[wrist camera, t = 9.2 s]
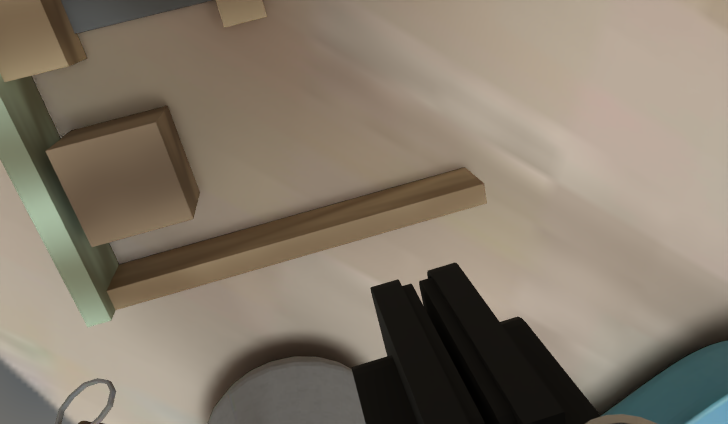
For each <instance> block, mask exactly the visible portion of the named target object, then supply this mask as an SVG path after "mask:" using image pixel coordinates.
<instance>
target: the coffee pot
mask: <svg viewBox="0 0 728 424" xmlns="http://www.w3.org/2000/svg"><path fill="white" fill-rule="evenodd" d="M97 383H105V384H107V385H108V387H109V389H110V394H109V399H108V403H107V406H106V407H105V408H104V410H103V411H102V412H101V414H100V415H99V416H98V418H96V419H95V420H94V421H93V422H88V421H81V422H79V423H78V424H103V423H100V422H101V421H102V420H103V419H104V418H105V416H106V415H107V414H108V412H109V411H110V409H111V408H112V407H113V403H114V398H115V394H116V390H115V388H114V386H113V384H112V382H111V381H109V380H104V379H98V378H97V379H94V380H91V381H88V382H85V383H83V384H81V385H80V386H79V387H78V388H77V389H76V390H75V391H73V392H72V393H71V394H70V395H69V396H68V398H67V399H66V400H65V402H64V403H63V404H62V406H61V407H60V409H59V411H58V415H57V418H56V422H55V424H61V422H62V419H63V415H64V411H65V410H66V408H67V407H68V406H69V404H70V403H71V402H72V400H73V399H74V398H75V397H76V396H77V395H78V394H79V393H80V392H82V391H83V390H84V389H85V388H86V387H88V386H91V385H94V384H97ZM208 424H366V423H365V419H364V415H363V412H362V408H361V404H360V400H359V396H358V392H357V388H356V384H355V381H354V377H353V373H352V369H350V368H349V367H347V366H345V365H343V364H341V363H339V362H337V361H333V360H329V359H325V358H321V357H303V356H294V357H289V358H284V359H280V360H275V361H271V362H269V363H267V364H264V365H262V366H260V367H258V368H255V369H253V370H251V371H249V372H248V373H247V374H246V375H244V376H243V377H242V378H240V379H239V380H238V381H236V382H235V383H234V384H233V385H232V386H231V387H230V388H229V389H228V391H227V392H226V393H225V394H224V396H223V397H222V398H221V399H220V401H219V402H218V403H217V404H216V406H215V407H214V409H213V411H212V414H211V416H210V419H209V421H208Z"/></svg>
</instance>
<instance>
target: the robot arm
mask: <svg viewBox="0 0 728 424" xmlns="http://www.w3.org/2000/svg"><path fill="white" fill-rule="evenodd" d="M427 275H428V279H425V280H422V281H420V282H419V285H420V291H421V296H422V300H423V304H422V302H421V300H420V299H419V297H418V295H417V293H416V291H415V289H414V287H413V285H412V284H408V285H405V286H402V285H401V283H400V281H399V280H394V281H391V282H388V283H384V284H381V285H377V286H374V287H371V293H372V297H373V301H374V305H375V309H376V313H377V317H378V321H379V325H380V329H381V333H382V337H383V341H384V345H385V348H386V352H387V357H384V358H381V359H378V360H374V361H371V362H368V363H364V364H361V365H358V366H355V367H351V368H352V373H353V377H354V381H355V384H356V388H357V392H358V396H359V400H360V404H361V408H362V412H363V415H364V419H365V423H366V424H657V423H655V422H652V421H649V420H647V419H644V418H642V417H637V416H631V415H625V414H616V415H604V416H600V414H599V413H598V412H597V411H596V409H595V408H594V407H593V406H592V404H591V403H590V402H589V401H588V399H587V398H586V397H585V396H584V394H583V393H582V392H581V391H580V389H579V388H578V387H577V386H576V384H575V383H574V382H573V381H572V379H571V378H570V377H569V376H568V374H567V373H566V372H565V371H564V369H563V368H562V367H561V366H560V364H559V363H558V362H557V361H556V359H555V358H554V357H553V356H552V354H551V353H550V352H549V351H548V349H547V348H546V347H545V346H544V344H543V343H542V342H541V341H540V339H539V338H538V337H537V336H536V334H535V333H534V332H533V331H532V329H531V328H530V327H529V326H528V324H527V323H526V322H525V321H524V320H523V319H522V318H520V317H515V318H512V319H508V320H505V321H502V322H499V321H498V319H497V318H496V316H495V315H494V314H493V312H492V311H491V310H490V308H489V307H488V305H487V304H486V303H485V301H484V300H483V298H482V297H481V296H480V294H479V293H478V292H477V290H476V289H475V287H474V286H473V285H472V283H471V282H470V281H469V279H468V278H467V276H466V275H465V274H464V272H463V271H462V269H461V268H460V267H459V265H458V264H457V263H452V264H449V265H445V266H442V267H439V268H435V269H432V270H428V272H427ZM423 305H424V306H423Z"/></svg>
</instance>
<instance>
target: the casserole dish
mask: <svg viewBox="0 0 728 424" xmlns="http://www.w3.org/2000/svg"><path fill="white" fill-rule="evenodd" d="M616 414H625V415H631V416H637V417H642V418H644V419H647V420H649V421H652V422H655V423H657V424H728V340H727V341H722V342H718V343H715V344H712V345H709V346H707V347H704V348H702V349H700V350H698V351H696V352H694V353H692V354H690V355H688V356H686V357H684V358H683V359H681V360H679V361H678V362H676V363H675V364H673V365H671V366H670V367H668V368H667V369H665V370H664V371H662V372H661V373H659V374H658V375H657V376H655V377H654V378H652V379H651V380H649V381H648V382H647V383H645V384H644V385H642V386H641V387H640V388H638V389H637V390H636V391H634V392H633V393H631V394H630V395H629V396H627V397H626V398H625V399H623V400H622V401H621V402H619V403H618V404H616V405H615V406H614V407H612V408H611V409H609V410H608V411H607V412H605V413H604V414H603V415H601V416H604V415H616Z"/></svg>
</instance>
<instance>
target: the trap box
mask: <svg viewBox="0 0 728 424" xmlns="http://www.w3.org/2000/svg"><path fill="white" fill-rule="evenodd" d="M207 1H211V0H0V160H1V162H2V164H3V166H4V167H5V169H6V171H7V173H8V175H9V177H10V179H11V181H12V183H13V185H14V187H15V189H16V191H17V192H18V194H19V196H20V198H21V200H22V202H23V204H24V206H25V208H26V210H27V212H28V214H29V215H30V217H31V219H32V221H33V223H34V225H35V227H36V229H37V231H38V233H39V235H40V237H41V239H42V240H43V242H44V244H45V246H46V248H47V250H48V252H49V254H50V256H51V258H52V260H53V262H54V263H55V265H56V267H57V269H58V271H59V273H60V275H61V277H62V279H63V281H64V283H65V285H66V287H67V288H68V290H69V292H70V294H71V296H72V298H73V300H74V302H75V304H76V306H77V308H78V310H79V311H80V313H81V315H82V317H83V319H84V321H85V323H86V325H87V327H90V326H94V325H97V324H101V323H104V322H108V321H111V320H112V317H113V315H114V313H115V310H117V309H121V308H124V307H128V306H131V305H135V304H138V303H142V302H145V301H149V300H152V299H156V298H159V297H163V296H166V295H170V294H173V293H176V292H180V291H183V290H187V289H190V288H194V287H197V286H201V285H204V284H208V283H211V282H215V281H218V280H222V279H225V278H229V277H232V276H236V275H239V274H243V273H246V272H249V271H253V270H256V269H260V268H263V267H267V266H270V265H274V264H277V263H281V262H284V261H288V260H291V259H295V258H298V257H302V256H305V255H309V254H312V253H315V252H319V251H322V250H326V249H329V248H333V247H336V246H340V245H343V244H347V243H350V242H354V241H357V240H361V239H364V238H368V237H371V236H375V235H378V234H382V233H385V232H388V231H392V230H395V229H399V228H402V227H406V226H409V225H413V224H416V223H420V222H423V221H427V220H430V219H434V218H437V217H441V216H444V215H448V214H451V213H454V212H458V211H461V210H465V209H468V208H472V207H475V206H479V205H482V204H486V203H487V200H486V193H485V186H484V183H483V182H482V181H480V180H479V179H478V178H477V177H476V176H475V175H473V174H472V173H471V172H470V171H469V170H467V169H466V168H461V169H457V170H454V171H450V172H447V173H443V174H440V175H436V176H433V177H429V178H425V179H422V180H418V181H415V182H411V183H408V184H404V185H401V186H397V187H393V188H390V189H386V190H383V191H379V192H376V193H372V194H369V195H365V196H361V197H358V198H354V199H351V200H347V201H344V202H340V203H336V204H333V205H329V206H326V207H322V208H319V209H315V210H312V211H308V212H304V213H301V214H297V215H294V216H290V217H287V218H283V219H280V220H276V221H272V222H269V223H265V224H262V225H258V226H255V227H251V228H248V229H244V230H240V231H237V232H233V233H230V234H226V235H223V236H219V237H215V238H212V239H208V240H205V241H201V242H198V243H194V244H191V245H187V246H183V247H180V248H176V249H173V250H169V251H166V252H162V253H159V254H155V255H151V256H148V257H144V258H141V259H137V260H134V261H130V262H127V263H123V264H118V261H117V259H116V257H115V255H114V253H113V251H112V249H111V246H110V244H109V243H105V244H102V245H98V246H95V247H91V245H90V243H89V241H88V239H87V236H86V234H85V232H84V230H83V228H82V226H81V224H80V222H79V220H78V218H77V216H76V214H75V212H74V210H73V207H72V205H71V203H70V201H69V199H68V197H67V195H66V193H65V191H64V189H63V187H62V185H61V183H60V180H59V178H58V176H57V174H56V172H55V170H54V168H53V166H52V164H51V162H50V160H49V158H48V156H47V154H46V150H47V149H49V148H50V147H51V146H52V145H54V144H55V143H56V142H57V141H59V140H60V137H59V135H58V133H57V130H56V128H55V126H54V124H53V122H52V120H51V118H50V115H49V113H48V111H47V109H46V107H45V105H44V103H43V100H42V98H41V96H40V94H39V92H38V90H37V88H36V85H35V83H34V81H33V79H32V77H31V76H32V75H36V74H40V73H44V72H48V71H52V70H56V69H60V68H64V67H68V66H71V65H73V64H75V63H78V62H80V61H82V60H84V59H87V57H86V54H85V52H84V50H83V47H82V45H81V43H80V40H79V38H78V35H77V33H80V32H85V31H89V30H93V29H97V28H101V27H105V26H109V25H113V24H117V23H121V22H126V21H130V20H134V19H138V18H142V17H146V16H150V15H154V14H158V13H162V12H166V11H171V10H175V9H179V8H183V7H187V6H191V5H195V4H199V3H203V2H207ZM216 3H217V7H218V10H219V13H220V16H221V19H222V23H223V26H224V28H225V27H229V26H233V25H237V24H241V23H245V22H249V21H253V20H257V19H261V18H265V17H267V15H266V11H265V7H264V4H263V0H216Z"/></svg>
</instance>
